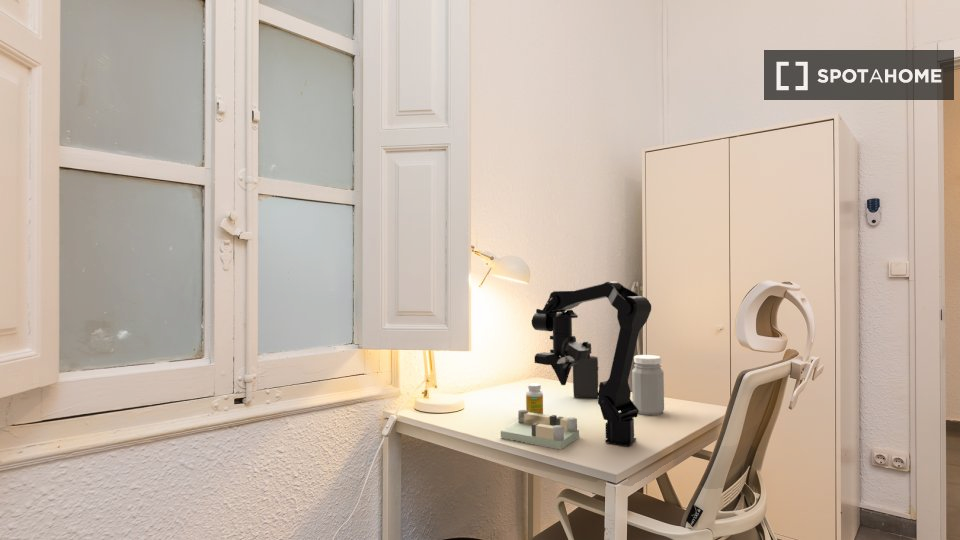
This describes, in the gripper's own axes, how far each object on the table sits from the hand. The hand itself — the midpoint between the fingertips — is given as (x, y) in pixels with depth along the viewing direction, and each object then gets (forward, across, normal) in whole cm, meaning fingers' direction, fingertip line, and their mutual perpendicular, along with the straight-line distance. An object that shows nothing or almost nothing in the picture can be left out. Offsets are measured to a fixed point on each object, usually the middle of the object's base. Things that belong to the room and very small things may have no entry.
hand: (563, 385), depth 150 cm
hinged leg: (+10, -11, +1) cm, 14 cm away
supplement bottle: (+12, +2, +14) cm, 19 cm away
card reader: (+12, +33, +19) cm, 40 cm away
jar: (+12, +32, -8) cm, 35 cm away
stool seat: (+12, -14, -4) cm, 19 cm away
